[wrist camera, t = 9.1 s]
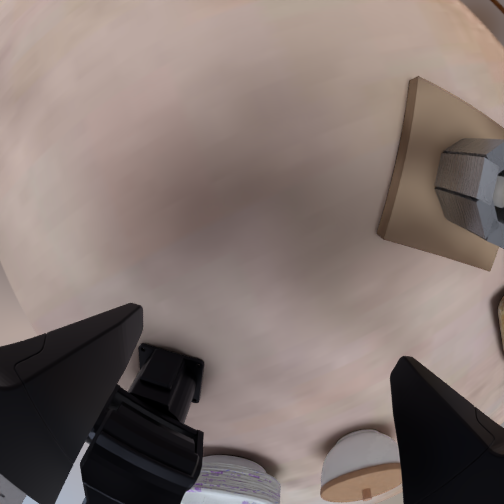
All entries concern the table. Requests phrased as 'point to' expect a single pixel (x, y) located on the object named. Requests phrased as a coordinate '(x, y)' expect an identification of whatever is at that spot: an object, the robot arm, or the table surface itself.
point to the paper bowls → (232, 483)
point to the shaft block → (434, 176)
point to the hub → (472, 186)
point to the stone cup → (501, 318)
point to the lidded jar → (360, 467)
